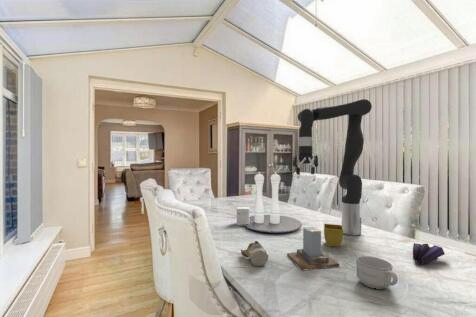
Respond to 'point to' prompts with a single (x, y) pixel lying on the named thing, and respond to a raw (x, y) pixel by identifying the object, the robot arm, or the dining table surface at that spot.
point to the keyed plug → (311, 242)
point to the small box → (243, 215)
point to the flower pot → (333, 234)
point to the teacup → (375, 272)
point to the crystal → (426, 253)
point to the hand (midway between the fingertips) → (305, 174)
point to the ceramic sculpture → (256, 254)
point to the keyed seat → (312, 260)
